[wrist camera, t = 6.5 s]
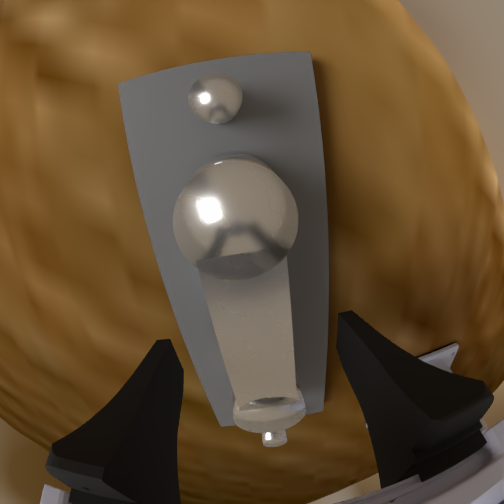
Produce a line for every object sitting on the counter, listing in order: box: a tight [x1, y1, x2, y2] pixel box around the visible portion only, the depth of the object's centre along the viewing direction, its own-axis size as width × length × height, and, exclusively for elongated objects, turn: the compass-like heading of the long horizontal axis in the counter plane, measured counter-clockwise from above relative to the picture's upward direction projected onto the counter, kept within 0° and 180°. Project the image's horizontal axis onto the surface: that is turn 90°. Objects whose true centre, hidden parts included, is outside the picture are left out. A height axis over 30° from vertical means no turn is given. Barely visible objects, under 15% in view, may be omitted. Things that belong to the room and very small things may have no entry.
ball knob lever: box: [173, 152, 306, 433], centre depth 13 cm, size 15×4×3 cm, turn 8°
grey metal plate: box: [118, 52, 329, 447], centre depth 13 cm, size 23×8×4 cm, turn 8°
